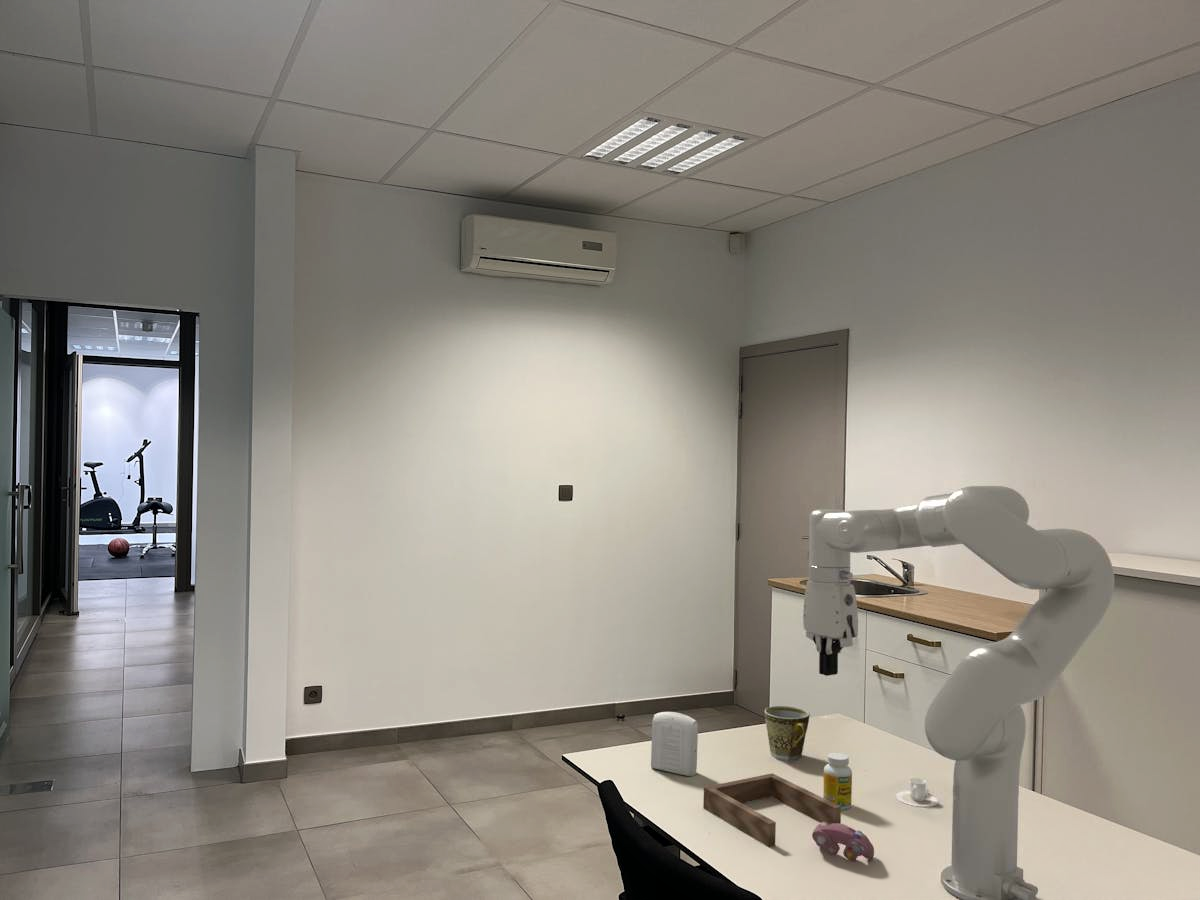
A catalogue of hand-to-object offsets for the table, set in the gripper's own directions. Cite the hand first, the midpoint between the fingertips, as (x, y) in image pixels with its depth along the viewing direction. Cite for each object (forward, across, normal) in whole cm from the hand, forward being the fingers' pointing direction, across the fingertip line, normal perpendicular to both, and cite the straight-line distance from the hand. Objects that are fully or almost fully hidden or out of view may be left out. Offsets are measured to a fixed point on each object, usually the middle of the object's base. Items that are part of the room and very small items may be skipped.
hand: (828, 673), depth 167 cm
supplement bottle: (+28, +5, -8) cm, 29 cm away
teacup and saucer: (+28, -2, -27) cm, 39 cm away
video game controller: (+28, -12, +8) cm, 31 cm away
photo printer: (+27, +36, +9) cm, 46 cm away
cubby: (+27, +6, +8) cm, 29 cm away
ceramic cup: (+27, +30, -19) cm, 44 cm away
